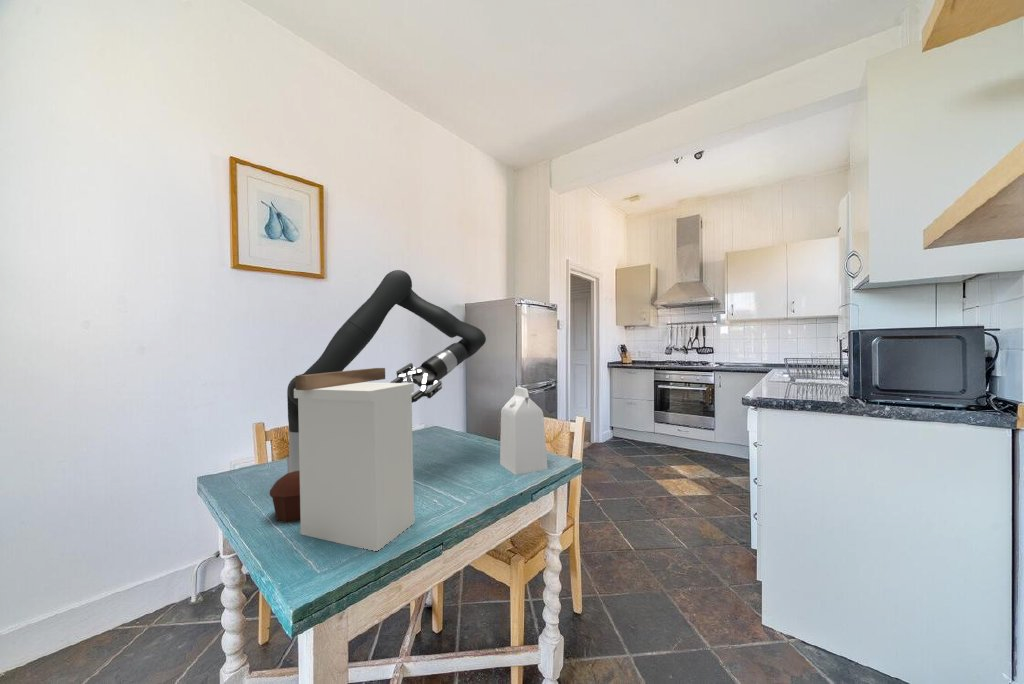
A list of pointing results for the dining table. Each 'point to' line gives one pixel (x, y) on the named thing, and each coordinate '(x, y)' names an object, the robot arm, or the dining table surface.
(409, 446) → the tall stand
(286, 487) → the muffin
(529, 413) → the milk
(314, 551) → the dining table surface
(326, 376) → the walnut handle
